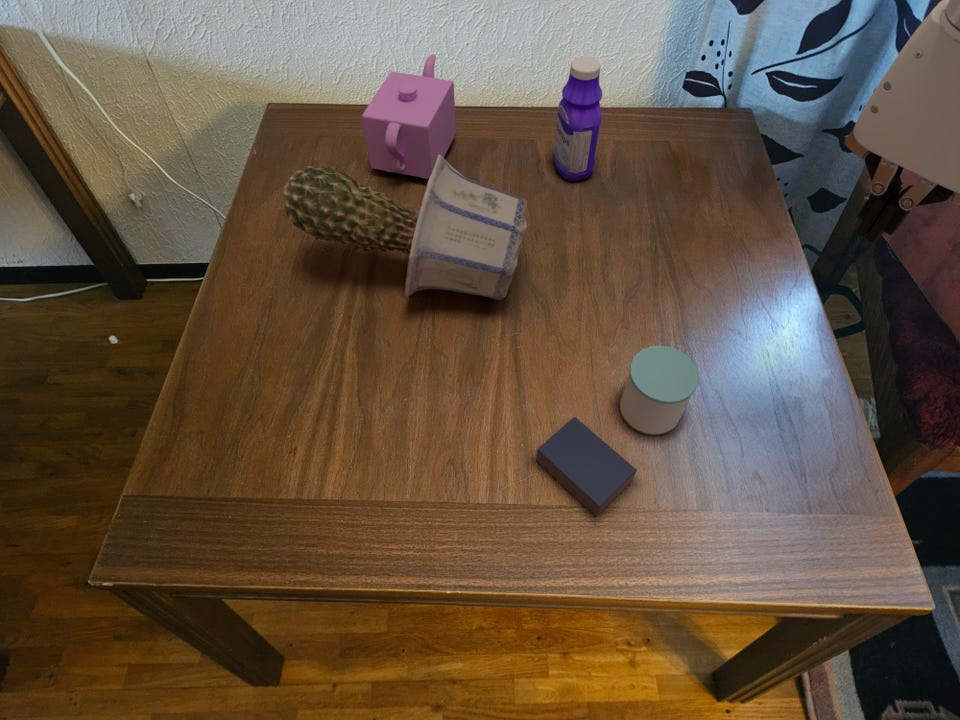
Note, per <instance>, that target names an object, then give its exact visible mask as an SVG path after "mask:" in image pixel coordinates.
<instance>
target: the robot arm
mask: <svg viewBox="0 0 960 720" xmlns="http://www.w3.org/2000/svg"><path fill="white" fill-rule="evenodd" d="M844 145H845V147H846V148H847V149H849V150H850V151H851V152H852V153H853V154H854V155H856V156H857V157H859V159H862V160H864V164H865V167H866V170H867V172H868V175H869V178H870V181H871V182H870V184H869V191H870V195H869V196H868V198H867V200H866V202H865V203H864V205H863V206H862V208H861V209H860V211H859V212H858V214H857V217H856V218H858V219H859V220H862V221H861V222H860V225H859V226H858V228H857V229H856V230H855V232H854V235H856V236H857V237H859V238H861V237H863V238H865V239H866V242H868V243H870V244H874V243H875V242H876V241H877V240H878V239H880V237H881V236H882V235H884V234H885V233H886V234H887V235H889V236H893V234H895V232H896V231H897V230H898V229H899V228H900V226H901V225H903V223H904V221H905V220H906V218H907V217H908V216H909V214H910V213H911V211H912V210H913V209H915V208H916V207H921V206H925V205H926V206H927V205H931V204H932V205H933V204H937V203H943V202H950V203H951V204H953V205H957V206H960V0H941V1H939V2H938V3H937V4H936V5H935V6H934V8H933V9H932V10H931V11H929V14H927V16H926V17H925V18H924V19H923V20H922V22H921V23H920V24H919V26H918V27H917V28H916V29H915V31H914V32H913V34H911V36H910V37H909V39H908V40H907V41H906V43H905V44H904V46H903V47H902V48H901V50H900V51H899V53H898V54H897V56H896V57H895V59H894V60H893V62H892V63H891V65H890V66H889V68H888V69H887V71H886V72H885V74H884V76H883V77H882V79H881V80H880V81H879V83H878V84H877V86H876V88H875V89H874V91H873V93H872V94H871V95H870V96H869V99H868V100H867V102H866V104H865V105H864V107H863V109H862V110H861V113H860V114H859V116H858V118H857V119H856V122H855V124H854V127H853V130H852V131H851V132H850V133H849V134H848V135H847V136H846V137H845V139H844ZM906 170H907V171H909V172H911V173H913V174H916V175H918V176H920V177H919V178H918V179H917V180H916V181H915V182H914V183H913V184H909V185H908V186H906V187H905V188H903V186H902V185H903V184H904V183H903V182H902V177H903V175H904V173H905V171H906Z"/></svg>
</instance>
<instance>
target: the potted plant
mask: <svg viewBox="0 0 960 720" xmlns="http://www.w3.org/2000/svg"><path fill="white" fill-rule="evenodd" d="M283 187H284V188H283V206H282V207H283V209H284V212H285V215H286V218H287V219H290V220H291V221H292V224H293V226H294V227H296V228H298V229H299V230H300V231H302V232H305V233H306V234H308V235H311V236H312V237H314V238H315V240H318V239H319V240H321V241H329V242H331V241H333V242H337V243H340V244H342V245H348V246H351V247H353V248H354V249H355V251H357V250H361V251H363V252H368V251H370V252H372V251H373V250H379V251H381V252H383V253H386V252H391V251H392V252H393V251H398V252H401V253H404V254H406V256H408V261H407V269H406V277H405V285H404V287H405V288H404V297H407V298H408V297H410V296H412V295H413V294H414V293H416V292H419V291H422V290H444V291H451V292H456V293H461V294H462V293H463V294H468V295H475V296H482V297H487V298H490V299H492V300H499V301H502V300H504V299H505V297H506V296H507V295H508V292H509V289H510V286H511V285H512V284H511V283H512V280H513V279H514V277H515V275H516V271H517V267H518V264H519V263H518V261H519V257H520V252H521V248H522V245H523V240H524V235H525V233H526V231H527V225H528V224H527V218H526V216H527V215H526V213H527V209H528V205H529V203H528V200H526V199H525V198H522V197H519V196H517V195H516V196H515V195H513V194H511V193H508V192H505V191H503V190H500V189H497V188H495V187H492V186H489V185H485V184H482V183H480V182H477V181H475V180H472V179H470V178H468V177H466V176H465V175H463V174H462V173H460V172H459V170H457V169H456V168H455V167H453V166H452V165H451V164H450V163H449V162H448V161H447V159H445V157H444V158H443V157H442V156H441V155H438V157H437V160H436V163H435V166H434V168H433V171H432V174H431V176H430V178H429V179H428V180H427V183H426V188H425V191H424V194H423V198H422V202H421V204H420V205H419V207H417V208H416V209H415V210H412V211H411V210H410V209H408V208H406V207H405V206H403V205H401V204H400V203H398V202H396V201H395V200H394V199H393V197H392V196H390V195H388V194H385V192H380V191H378V190H376V189H374V188H373V187H372V186H371V185H369V186H368V185H363V184H361V181H359V180H357V179H355V178H354V176H353V175H352V174H347V173H346V172H345V173H344V172H343V171H339V170H338V166H332V167H324V166H321V167H318V166H311V165H310V166H309V165H307V167H305V168H304V169H300V170H297V171H295V172H294V173H293V174H292V175H291V176H290V177H289V179H288V182H287V183H286V184H285V186H283Z"/></svg>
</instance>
